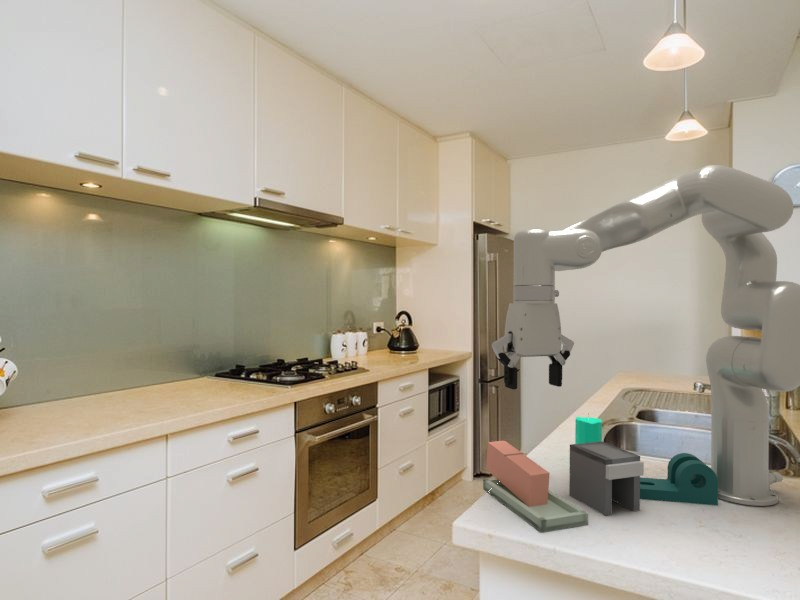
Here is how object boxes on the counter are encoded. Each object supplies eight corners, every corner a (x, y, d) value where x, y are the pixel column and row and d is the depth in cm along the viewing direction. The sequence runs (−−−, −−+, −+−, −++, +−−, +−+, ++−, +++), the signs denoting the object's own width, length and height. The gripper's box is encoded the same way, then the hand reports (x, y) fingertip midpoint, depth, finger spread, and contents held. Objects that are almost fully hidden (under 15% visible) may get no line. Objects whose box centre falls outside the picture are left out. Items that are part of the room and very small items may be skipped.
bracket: (703, 493, 101) (703, 454, 101) (717, 506, 95) (718, 464, 95) (609, 485, 105) (609, 448, 105) (616, 498, 98) (616, 458, 98)
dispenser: (643, 512, 91) (643, 457, 91) (608, 517, 89) (609, 461, 89) (601, 490, 101) (601, 441, 101) (569, 495, 99) (569, 444, 99)
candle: (571, 464, 118) (572, 413, 118) (578, 457, 123) (579, 409, 123) (598, 469, 114) (598, 417, 114) (604, 462, 119) (604, 412, 119)
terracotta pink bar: (502, 467, 108) (504, 440, 107) (547, 504, 92) (549, 472, 92) (486, 469, 106) (487, 441, 106) (528, 506, 91) (530, 475, 91)
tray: (523, 484, 105) (523, 474, 105) (588, 524, 86) (588, 513, 86) (483, 489, 102) (483, 479, 102) (541, 532, 83) (541, 520, 83)
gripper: (559, 296, 100) (559, 381, 100) (483, 295, 95) (482, 386, 95) (585, 296, 93) (584, 387, 93) (504, 295, 88) (503, 393, 88)
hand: (533, 386), depth 94 cm, fingers open, 9 cm apart
